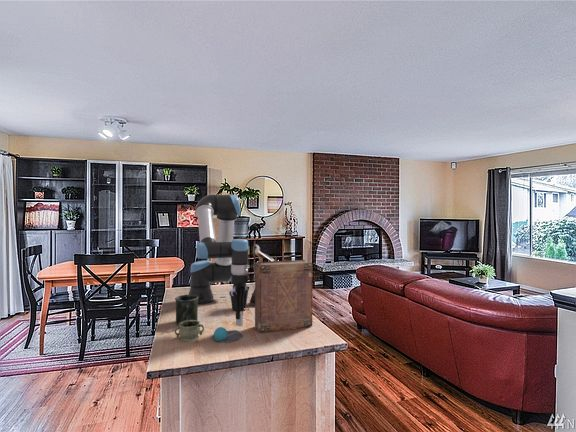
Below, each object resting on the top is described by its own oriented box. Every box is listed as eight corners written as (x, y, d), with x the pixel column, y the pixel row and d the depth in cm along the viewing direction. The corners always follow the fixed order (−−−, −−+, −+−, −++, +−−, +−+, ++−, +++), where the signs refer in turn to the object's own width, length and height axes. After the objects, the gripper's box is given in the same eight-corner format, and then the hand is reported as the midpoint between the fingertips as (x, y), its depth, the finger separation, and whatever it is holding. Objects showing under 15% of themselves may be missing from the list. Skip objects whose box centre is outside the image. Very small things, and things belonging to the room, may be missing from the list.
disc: (205, 338, 142) (205, 338, 142) (224, 329, 154) (224, 328, 154) (231, 344, 137) (231, 343, 137) (248, 333, 148) (248, 333, 148)
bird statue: (275, 299, 205) (276, 242, 205) (279, 305, 193) (279, 244, 192) (248, 301, 202) (248, 242, 202) (249, 307, 190) (250, 244, 189)
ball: (215, 341, 142) (209, 336, 138) (220, 329, 145) (215, 323, 141) (225, 344, 140) (220, 339, 136) (231, 331, 143) (226, 326, 139)
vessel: (203, 332, 150) (203, 318, 150) (205, 340, 141) (205, 325, 141) (174, 335, 146) (174, 321, 146) (174, 343, 137) (174, 328, 137)
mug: (199, 318, 170) (199, 294, 170) (197, 327, 155) (197, 301, 155) (176, 319, 168) (176, 295, 167) (172, 329, 153) (172, 302, 153)
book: (304, 320, 167) (304, 259, 167) (312, 326, 159) (313, 262, 158) (254, 326, 158) (255, 262, 158) (260, 333, 149) (260, 265, 149)
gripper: (238, 276, 146) (238, 331, 146) (254, 272, 157) (253, 322, 158) (224, 275, 149) (223, 328, 149) (240, 270, 161) (240, 320, 161)
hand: (239, 325), depth 154 cm, fingers closed
